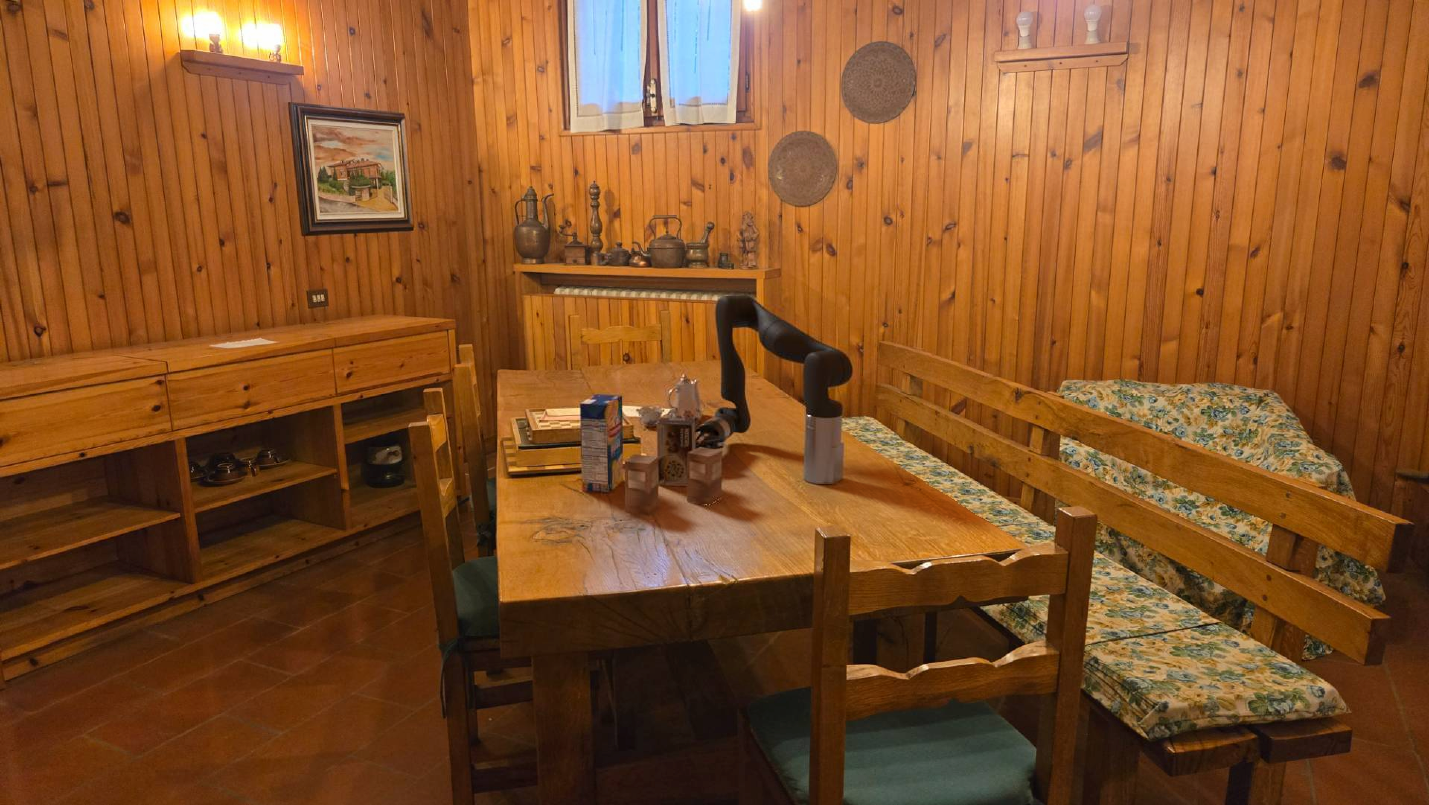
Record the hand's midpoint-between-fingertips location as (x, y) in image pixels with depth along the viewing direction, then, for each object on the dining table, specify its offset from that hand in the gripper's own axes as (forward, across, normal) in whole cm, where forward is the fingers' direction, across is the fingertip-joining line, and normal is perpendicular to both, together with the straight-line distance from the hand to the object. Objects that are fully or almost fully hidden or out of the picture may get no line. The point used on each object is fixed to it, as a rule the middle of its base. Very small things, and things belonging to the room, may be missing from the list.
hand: (689, 449), depth 240 cm
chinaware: (-51, -24, +7) cm, 56 cm away
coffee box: (+7, -1, +7) cm, 10 cm away
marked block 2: (+17, +10, +7) cm, 21 cm away
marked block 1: (+28, -1, +7) cm, 29 cm away
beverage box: (+16, -17, +7) cm, 24 cm away
